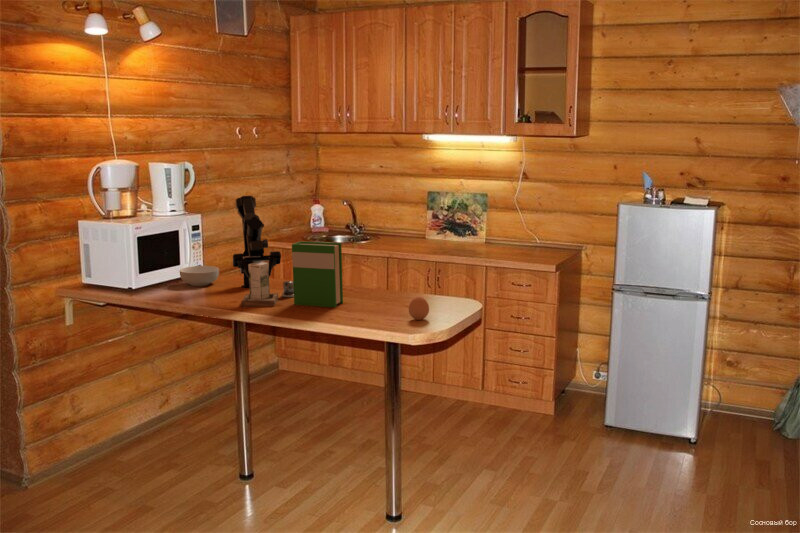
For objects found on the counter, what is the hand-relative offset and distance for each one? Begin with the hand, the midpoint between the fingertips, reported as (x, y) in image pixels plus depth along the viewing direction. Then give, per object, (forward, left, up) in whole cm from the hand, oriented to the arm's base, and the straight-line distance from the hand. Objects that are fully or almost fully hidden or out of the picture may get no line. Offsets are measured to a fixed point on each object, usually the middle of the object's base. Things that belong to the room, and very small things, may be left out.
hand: (259, 276), depth 306 cm
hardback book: (-7, +22, -11) cm, 26 cm away
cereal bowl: (-23, -46, -11) cm, 52 cm away
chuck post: (-15, +4, -11) cm, 19 cm away
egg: (+3, +68, -11) cm, 69 cm away
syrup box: (-1, -1, -9) cm, 10 cm away
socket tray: (-1, -1, -11) cm, 11 cm away
